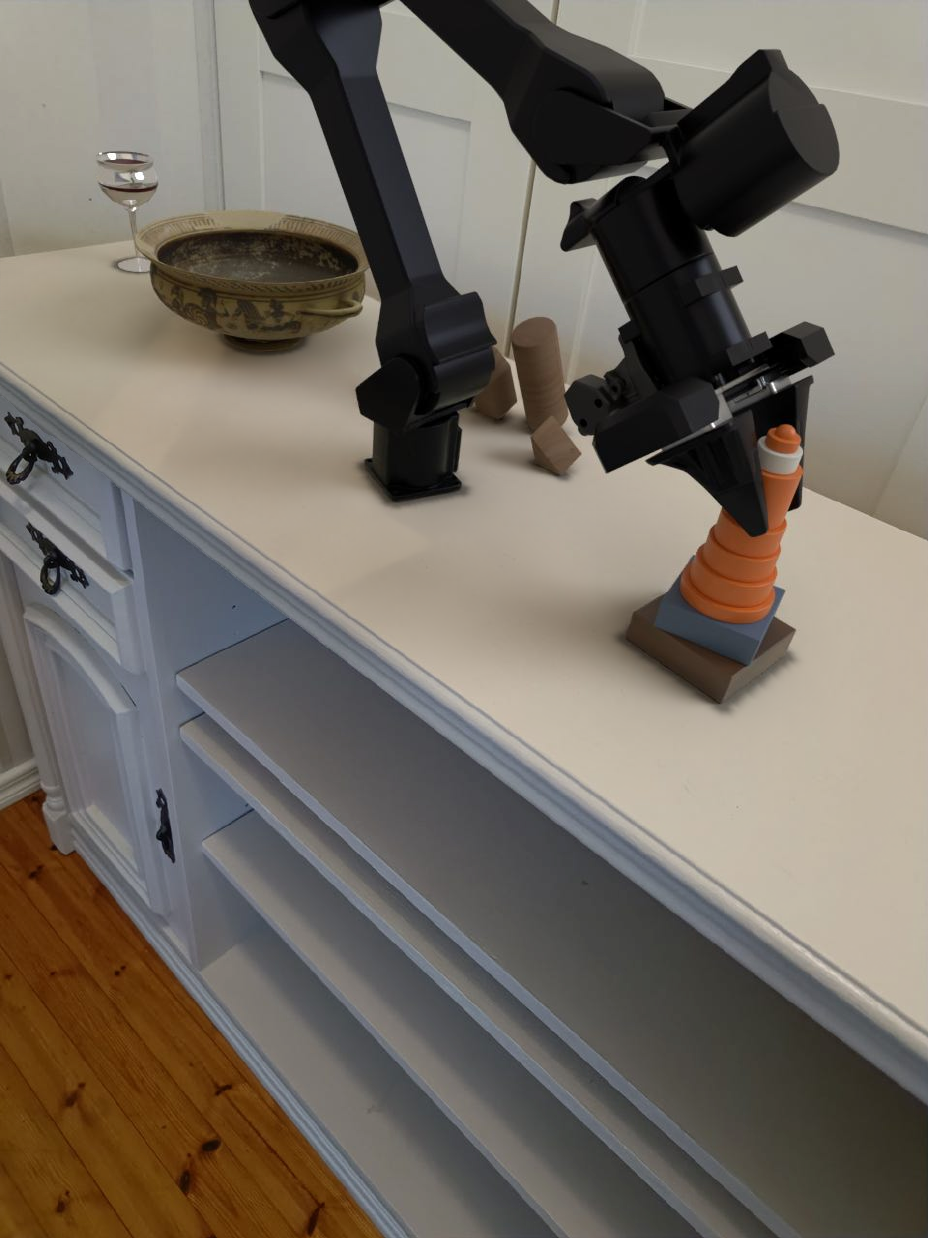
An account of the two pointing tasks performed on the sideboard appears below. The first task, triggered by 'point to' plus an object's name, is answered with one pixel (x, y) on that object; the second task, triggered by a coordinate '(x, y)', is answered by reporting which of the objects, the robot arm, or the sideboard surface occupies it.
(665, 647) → the base block
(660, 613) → the top block
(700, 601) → the cone
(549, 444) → the wooden block set
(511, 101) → the robot arm
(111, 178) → the wineglass
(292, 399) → the sideboard surface
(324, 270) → the ceramic bowl
